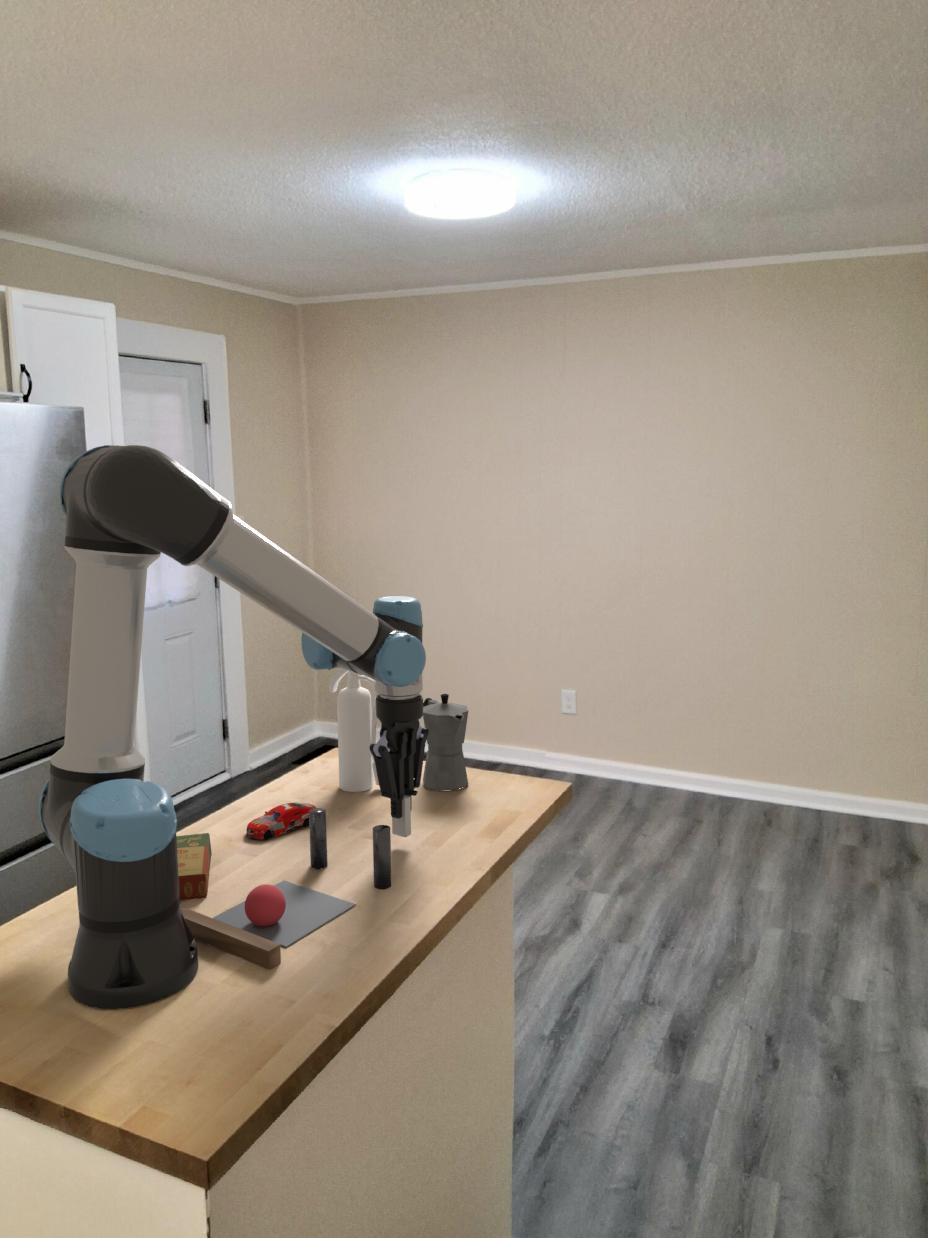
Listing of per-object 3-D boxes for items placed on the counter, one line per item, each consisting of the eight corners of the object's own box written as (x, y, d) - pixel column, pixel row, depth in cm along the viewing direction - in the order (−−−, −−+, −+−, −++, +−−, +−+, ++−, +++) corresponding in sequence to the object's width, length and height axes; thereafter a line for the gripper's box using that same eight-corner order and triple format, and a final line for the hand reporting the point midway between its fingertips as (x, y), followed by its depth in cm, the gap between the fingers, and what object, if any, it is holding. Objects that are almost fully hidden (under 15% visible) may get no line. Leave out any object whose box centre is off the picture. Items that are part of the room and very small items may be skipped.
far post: (319, 870, 145) (318, 815, 144) (307, 867, 147) (305, 812, 145) (331, 864, 147) (329, 810, 146) (318, 861, 149) (316, 806, 147)
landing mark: (286, 948, 122) (286, 946, 122) (212, 919, 130) (212, 918, 130) (355, 905, 134) (355, 904, 134) (284, 881, 142) (284, 880, 141)
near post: (384, 891, 138) (382, 833, 137) (370, 886, 140) (369, 829, 138) (395, 884, 140) (393, 827, 139) (381, 880, 142) (380, 823, 140)
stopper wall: (269, 969, 117) (268, 951, 117) (173, 930, 127) (172, 913, 127) (280, 962, 119) (280, 944, 118) (185, 924, 129) (184, 907, 128)
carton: (148, 907, 135) (145, 879, 134) (158, 861, 150) (156, 835, 149) (208, 900, 137) (206, 872, 136) (211, 855, 152) (210, 830, 151)
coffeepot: (483, 789, 180) (483, 698, 177) (439, 798, 176) (438, 704, 173) (445, 767, 193) (445, 681, 190) (404, 774, 189) (402, 687, 186)
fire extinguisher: (381, 796, 176) (375, 664, 173) (324, 790, 181) (318, 662, 177) (396, 785, 183) (391, 658, 179) (341, 780, 187) (335, 655, 184)
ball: (258, 920, 123) (280, 882, 126) (229, 909, 126) (251, 873, 129) (279, 938, 127) (300, 901, 130) (250, 927, 130) (271, 891, 133)
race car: (256, 846, 156) (255, 823, 155) (240, 836, 160) (239, 814, 159) (323, 824, 164) (323, 802, 164) (306, 816, 168) (306, 794, 168)
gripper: (392, 706, 142) (395, 853, 146) (442, 688, 153) (443, 826, 157) (354, 699, 146) (358, 842, 150) (405, 682, 157) (407, 816, 161)
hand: (401, 834), depth 154 cm, fingers closed
